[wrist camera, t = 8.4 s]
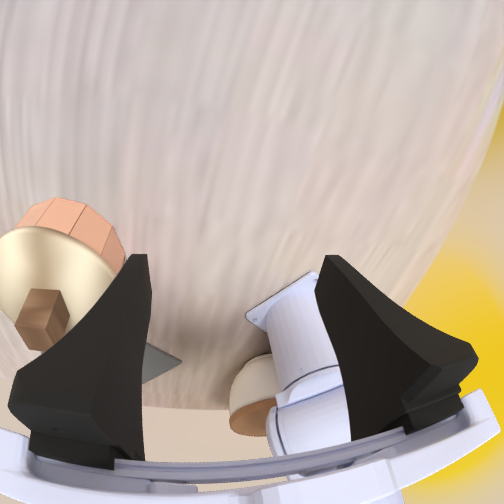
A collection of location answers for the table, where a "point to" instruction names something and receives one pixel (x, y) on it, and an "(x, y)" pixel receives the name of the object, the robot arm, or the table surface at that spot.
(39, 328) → the lid
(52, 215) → the bowl
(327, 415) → the robot arm
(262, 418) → the lidded jar
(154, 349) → the mat
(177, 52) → the table surface
